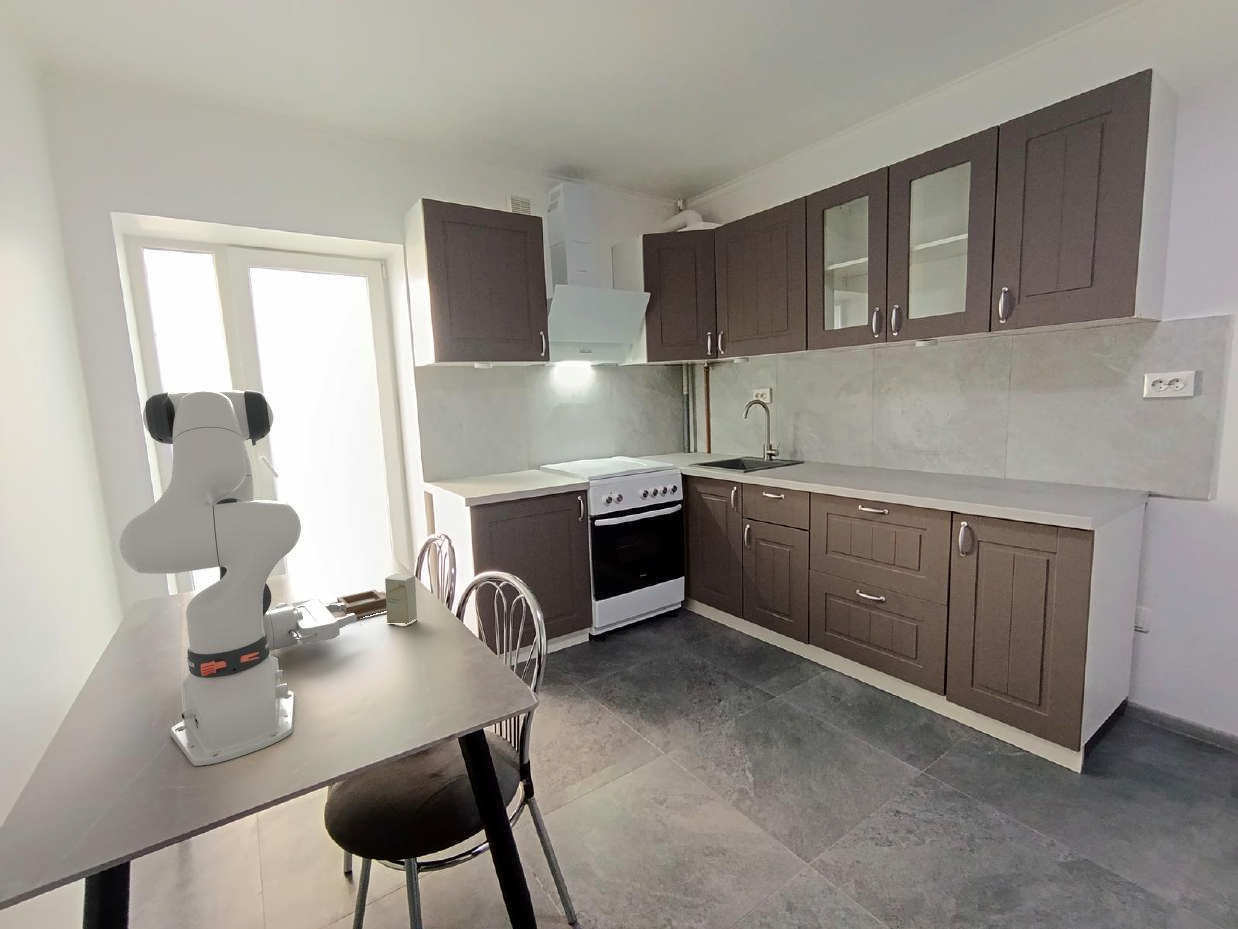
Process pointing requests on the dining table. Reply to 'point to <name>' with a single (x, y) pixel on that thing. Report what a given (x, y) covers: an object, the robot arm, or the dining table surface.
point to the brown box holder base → (362, 604)
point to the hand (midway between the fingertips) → (350, 611)
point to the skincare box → (400, 598)
